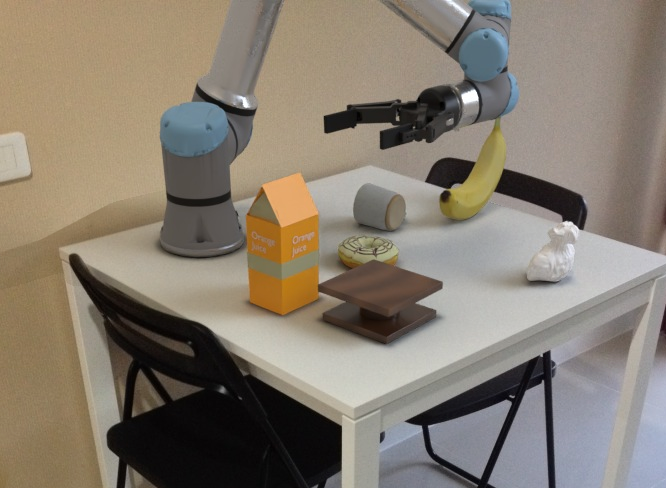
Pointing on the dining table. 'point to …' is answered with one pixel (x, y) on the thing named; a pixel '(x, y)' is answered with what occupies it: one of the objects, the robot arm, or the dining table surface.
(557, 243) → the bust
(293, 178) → the orange juice
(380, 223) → the ceramic mug
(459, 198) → the banana
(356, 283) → the stand
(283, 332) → the dining table surface
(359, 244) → the decorated donut
